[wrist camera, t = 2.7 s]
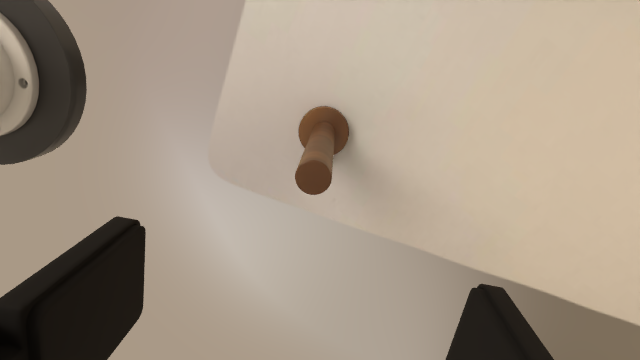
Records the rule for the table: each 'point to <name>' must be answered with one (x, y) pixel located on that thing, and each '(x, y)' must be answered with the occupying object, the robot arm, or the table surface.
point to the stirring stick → (320, 147)
